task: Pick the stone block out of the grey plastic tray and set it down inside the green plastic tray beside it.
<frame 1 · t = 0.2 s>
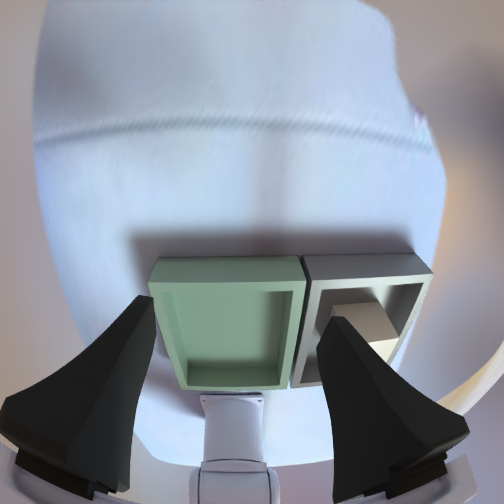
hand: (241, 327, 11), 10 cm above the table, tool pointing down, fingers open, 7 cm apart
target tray: (230, 322, 24), on the table
stone block: (350, 322, 24), point 1 cm above the table, touching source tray
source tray: (348, 316, 24), on the table
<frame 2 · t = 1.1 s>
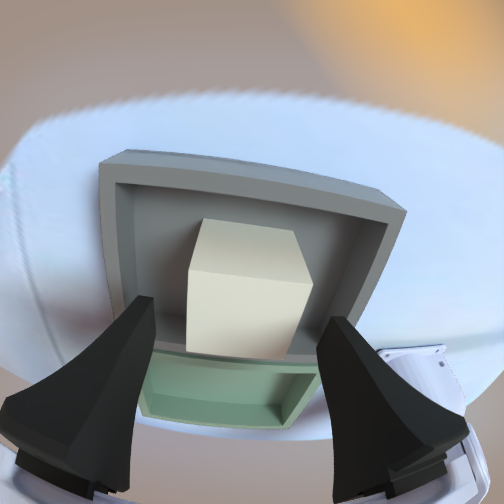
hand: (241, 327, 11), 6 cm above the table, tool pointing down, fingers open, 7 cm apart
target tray: (222, 369, 21), on the table
stone block: (241, 262, 15), point 1 cm above the table, touching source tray
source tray: (241, 255, 16), on the table
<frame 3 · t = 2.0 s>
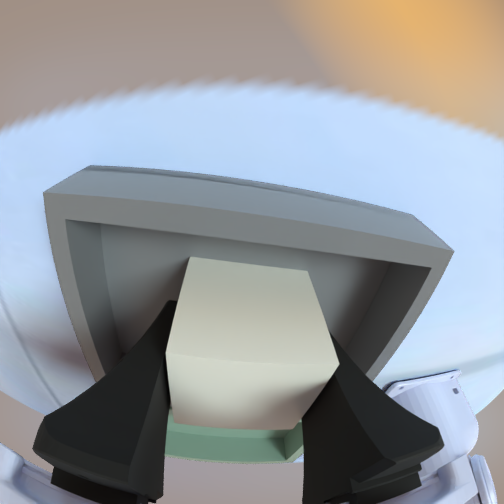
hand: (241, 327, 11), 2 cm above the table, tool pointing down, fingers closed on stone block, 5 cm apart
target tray: (219, 407, 18), on the table
stone block: (241, 308, 12), point 1 cm above the table, touching gripper, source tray
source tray: (241, 296, 12), on the table
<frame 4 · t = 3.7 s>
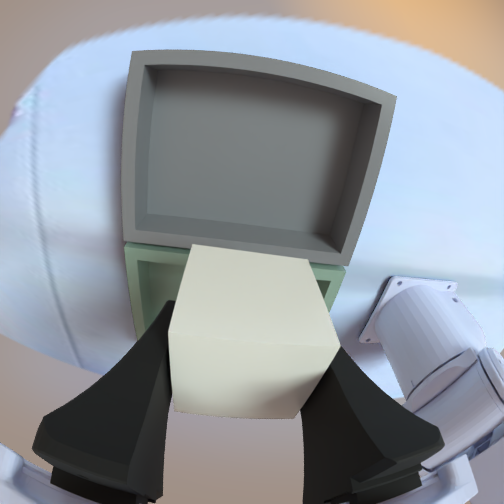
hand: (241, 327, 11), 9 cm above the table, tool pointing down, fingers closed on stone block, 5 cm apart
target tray: (228, 295, 21), on the table
stone block: (242, 297, 12), point 7 cm above the table, touching gripper
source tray: (250, 150, 16), on the table
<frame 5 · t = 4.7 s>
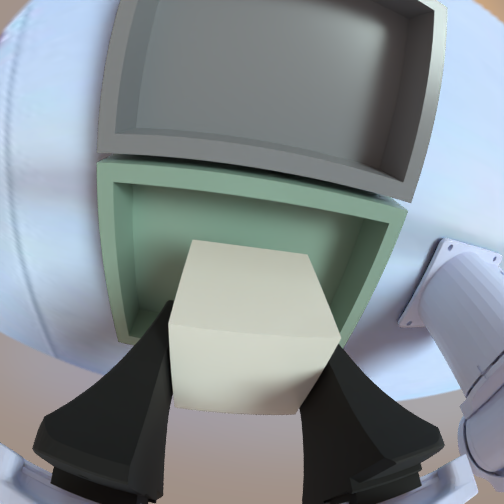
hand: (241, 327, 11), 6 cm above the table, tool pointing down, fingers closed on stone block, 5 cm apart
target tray: (241, 255, 15), on the table
stone block: (242, 293, 12), point 4 cm above the table, touching gripper
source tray: (279, 52, 10), on the table
when the fingers open (3 cm above the table, at t = 5.6 s): stone block stays where it is, resting on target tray.
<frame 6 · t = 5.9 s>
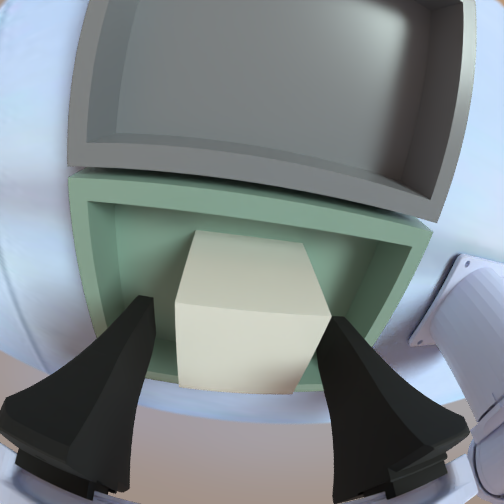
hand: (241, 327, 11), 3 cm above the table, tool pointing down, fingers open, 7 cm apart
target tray: (240, 277, 14), on the table
stone block: (242, 280, 13), point 1 cm above the table, touching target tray
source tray: (286, 42, 8), on the table
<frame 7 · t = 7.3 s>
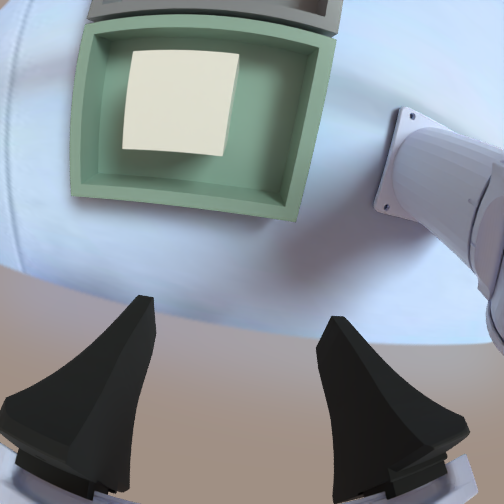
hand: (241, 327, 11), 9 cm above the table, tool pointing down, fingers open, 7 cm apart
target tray: (194, 108, 15), on the table
stone block: (193, 101, 14), point 1 cm above the table, touching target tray
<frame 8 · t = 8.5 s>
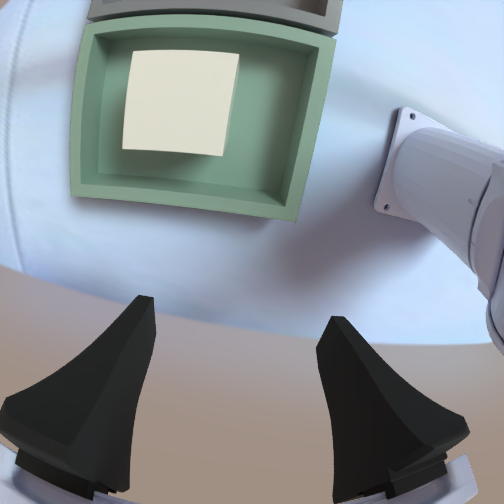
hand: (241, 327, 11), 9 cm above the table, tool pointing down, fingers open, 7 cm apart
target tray: (194, 108, 15), on the table
stone block: (193, 101, 14), point 1 cm above the table, touching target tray
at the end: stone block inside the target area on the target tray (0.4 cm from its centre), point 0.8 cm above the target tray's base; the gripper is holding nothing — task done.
